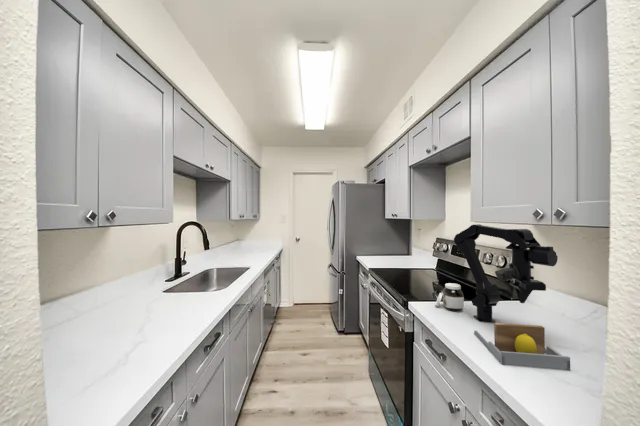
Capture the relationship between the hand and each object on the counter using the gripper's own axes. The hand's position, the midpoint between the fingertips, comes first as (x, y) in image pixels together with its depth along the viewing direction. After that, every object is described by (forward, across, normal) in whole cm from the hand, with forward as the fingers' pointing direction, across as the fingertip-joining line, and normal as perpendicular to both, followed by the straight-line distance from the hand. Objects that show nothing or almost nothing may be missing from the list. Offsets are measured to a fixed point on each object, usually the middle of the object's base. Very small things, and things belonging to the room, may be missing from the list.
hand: (522, 302), depth 100 cm
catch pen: (+12, +13, -9) cm, 20 cm away
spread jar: (+12, -26, -19) cm, 35 cm away
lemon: (+12, +19, -9) cm, 24 cm away
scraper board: (+12, +15, -9) cm, 21 cm away
